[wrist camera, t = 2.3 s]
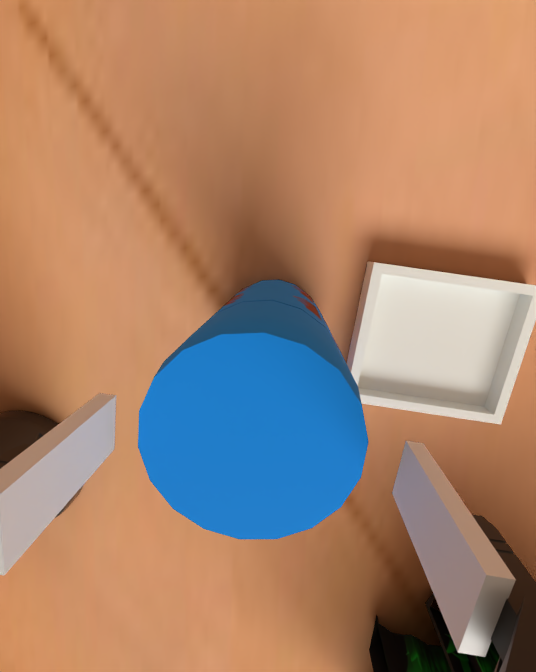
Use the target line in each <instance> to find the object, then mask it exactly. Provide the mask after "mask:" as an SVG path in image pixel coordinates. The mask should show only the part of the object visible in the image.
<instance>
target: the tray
mask: <svg viewBox="0 0 536 672" xmlns="http://www.w3.org/2000/svg"><path fill="white" fill-rule="evenodd" d="M535 321H536V285H530V284H523V283H516V282H509V281H502V280H495V279H488V278H481V277H474V276H467V275H460V274H453V273H446V272H439V271H432V270H426V269H419V268H412V267H405V266H398V265H391V264H384V263H377V262H370V261H367V266H366V271H365V276H364V281H363V286H362V291H361V295H360V300H359V305H358V310H357V315H356V320H355V325H354V330H353V334H352V339H351V344H350V349H349V354H348V359H347V366H348V368H349V370H350V372H351V374H352V376H353V378H354V380H355V382H356V384H357V386H358V388H359V393H360V399H361V403H362V404H368V405H375V406H382V407H388V408H395V409H402V410H408V411H415V412H421V413H428V414H435V415H441V416H448V417H454V418H461V419H468V420H474V421H481V422H488V423H494V424H501V422H502V419H503V416H504V413H505V410H506V407H507V404H508V401H509V398H510V395H511V392H512V389H513V386H514V383H515V380H516V378H517V375H518V372H519V369H520V366H521V363H522V360H523V357H524V354H525V351H526V348H527V345H528V342H529V339H530V336H531V333H532V330H533V327H534V324H535Z"/></svg>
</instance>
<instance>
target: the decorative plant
mask: <svg viewBox="0 0 536 672" xmlns="http://www.w3.org/2000/svg"><path fill="white" fill-rule="evenodd" d="M434 598H435V596H434V594H432V595H431V597H430V598H429V599H428V600H427V602H426V603H425V604H426V607H427V609H428V612H429V614H430V617H431V620H432V622H433V625H434V627H435V630H436V632H437V635H438V638H439V640H440V643H441V645H442V647H441V646H435V645H428V644H426V643H425V642H423V641H421V640H420V639H418V638H417V637H414V636H413V635H401V634H396V633H392V632H391V631H389V630H388V629H387V628H385V627H384V626H382V625H381V624H379V622H378V617H377V616H376V621H375V625H374V630H373V635H372V639H371V644H370V649H369V651H370V656H371V661H372V665H373V670H374V672H494V670H495V668H496V665H497V663H498V660H499V658H500V656H499V654H498V652H497V650H496V648H495V646H494V644H493V642H492V641H491V644H490V646H489V649H488V651H487V654H486V656H485V657H482V656H476V655H470V654H464V653H458V652H457V649H456V647H455V645H454V642H453V640H452V637H451V635H450V632H449V630H448V628H447V625H446V623H445V620H444V618H443V615H442V613H441V611H439V610H437V609H435V608H433V607H431V604H432V602H433V600H434Z"/></svg>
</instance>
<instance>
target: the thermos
mask: <svg viewBox="0 0 536 672" xmlns="http://www.w3.org/2000/svg"><path fill="white" fill-rule="evenodd" d="M367 446H368V437H367V431H366V425H365V420H364V415H363V409H362V404H361V399H360V393H359V388H358V386H357V384H356V382H355V380H354V378H353V376H352V374H351V372H350V370H349V368H348V366H347V364H346V362H345V360H344V358H343V356H342V354H341V352H340V350H339V348H338V346H337V344H336V342H335V340H334V338H333V336H332V334H331V332H330V330H329V328H328V326H327V324H326V322H325V320H324V318H323V316H322V314H321V312H320V311H319V309H318V308H317V306H316V304H315V303H314V301H313V300H312V298H311V297H310V296H309V295H308V294H307V293H305V292H304V291H303V290H301V289H300V288H299V287H297V286H296V285H295V284H292V283H288V282H285V281H282V280H262V281H260V282H258V283H255V284H253V285H251V286H248V287H246V288H244V289H242V290H241V291H239V292H238V293H237V294H236V295H235V296H234V297H233V298H232V299H231V300H230V301H229V302H227V303H226V304H225V305H224V306H223V307H222V308H221V309H220V310H219V311H218V312H216V313H215V314H214V315H213V316H212V317H211V318H210V319H209V320H208V321H207V322H206V323H204V324H203V325H202V326H201V327H200V328H199V329H198V330H197V331H196V332H195V333H193V334H192V335H191V336H190V337H189V338H188V339H187V340H186V341H185V342H184V343H183V344H182V345H181V346H180V347H179V348H178V349H177V350H176V351H175V352H173V353H172V354H171V355H170V356H169V357H168V358H167V359H166V360H165V361H164V362H163V364H162V366H161V367H160V369H159V370H158V372H157V374H156V375H155V377H154V379H153V381H152V383H151V386H150V388H149V390H148V392H147V395H146V397H145V399H144V401H143V404H142V406H141V408H140V410H139V435H138V448H139V450H140V453H141V456H142V459H143V462H144V465H145V467H146V470H147V473H148V476H149V479H150V481H151V482H152V483H153V485H154V486H155V487H156V488H157V490H158V491H159V492H160V493H161V494H162V496H163V497H164V498H165V499H166V501H167V502H168V503H169V504H170V506H171V507H172V508H173V509H174V510H176V511H177V512H179V513H180V514H182V515H184V516H185V517H187V518H188V519H190V520H191V521H193V522H194V523H196V524H197V525H199V526H200V527H202V528H203V529H206V530H210V531H213V532H217V533H220V534H223V535H227V536H230V537H234V538H237V539H278V538H282V537H285V536H288V535H291V534H294V533H298V532H301V531H304V530H307V529H310V528H313V527H314V526H315V525H317V524H318V523H319V522H321V521H322V520H324V519H325V518H326V517H328V516H329V515H331V514H332V513H333V512H335V511H336V510H337V509H339V508H340V507H341V506H342V505H343V503H344V502H345V500H346V499H347V497H348V496H349V494H350V493H351V491H352V490H353V488H354V487H355V485H356V484H357V482H358V481H359V479H360V478H361V475H362V470H363V465H364V460H365V456H366V451H367Z"/></svg>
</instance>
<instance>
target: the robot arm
mask: <svg viewBox="0 0 536 672" xmlns="http://www.w3.org/2000/svg"><path fill="white" fill-rule="evenodd" d="M115 417H116V395H110V394H104V393H99V394H97V395H96V396H95V397H94V398H92V399H91V400H90V401H88V402H87V403H86V404H84V405H83V406H82V407H80V408H79V409H78V410H77V411H75V412H74V413H73V414H71V415H70V416H69V417H67V418H66V419H65V420H63V421H62V422H61V423H60V424H57V423H55V422H54V421H52V420H50V419H48V418H46V417H44V416H42V415H39V414H36V413H32V412H27V411H7V412H3V413H0V575H5V574H6V573H7V572H8V571H9V570H10V568H11V567H12V566H13V565H14V564H15V563H16V562H17V560H18V559H19V558H20V557H21V556H22V555H23V553H24V552H25V551H26V550H27V549H28V548H29V547H30V545H31V544H32V543H33V542H34V541H35V540H36V539H37V537H38V536H39V535H40V534H41V533H42V532H43V531H44V529H45V528H46V527H47V526H48V525H49V524H50V522H51V521H52V520H53V519H54V518H56V517H57V516H59V515H60V514H61V513H63V512H64V511H65V510H66V509H67V508H68V507H69V505H70V504H71V503H72V502H73V501H74V499H75V498H76V497H77V496H78V494H79V493H80V491H81V489H82V487H83V485H84V483H85V482H86V481H87V480H88V479H89V478H90V476H91V475H92V474H93V473H94V472H95V471H96V470H97V468H98V467H99V466H100V465H101V464H102V463H103V462H104V460H105V459H106V458H107V457H108V456H109V455H110V454H111V452H112V451H113V450H114V447H115ZM392 494H393V497H394V499H395V502H396V504H397V507H398V509H399V511H400V514H401V516H402V519H403V521H404V523H405V526H406V528H407V531H408V533H409V536H410V538H411V540H412V543H413V545H414V548H415V550H416V553H417V555H418V557H419V560H420V562H421V565H422V567H423V569H424V572H425V574H426V577H427V579H428V582H429V584H430V586H431V589H432V591H433V594H434V596H435V599H436V601H437V603H438V606H439V608H440V611H441V613H442V615H443V618H444V620H445V623H446V625H447V628H448V630H449V632H450V635H451V637H452V640H453V642H454V645H455V647H456V649H457V652H458V653H464V654H470V655H476V656H482V657H485V656H486V654H487V651H488V649H489V646H490V644H491V641H492V642H493V644H494V646H495V648H496V650H497V652H498V654H499V656H500V658H499V660H498V663H497V665H496V668H495V670H494V672H536V582H535V581H534V579H533V578H532V577H531V575H530V574H529V573H528V571H527V570H526V568H525V567H524V566H523V564H522V563H521V562H520V560H519V559H518V557H517V556H516V555H514V554H513V551H512V549H511V548H510V547H509V545H508V544H506V541H505V540H504V538H503V537H502V536H501V534H500V533H499V532H498V530H497V529H496V528H495V527H494V526H493V525H492V524H491V523H489V522H488V521H487V520H486V519H485V518H484V517H482V516H478V515H472V514H471V513H470V511H469V510H468V508H467V507H466V505H465V504H464V503H463V501H462V500H461V498H460V497H459V495H458V494H457V492H456V491H455V489H454V488H453V486H452V485H451V483H450V482H449V480H448V479H447V477H446V476H445V474H444V473H443V472H442V470H441V469H440V467H439V466H438V464H437V463H436V461H435V460H434V458H433V457H432V455H431V454H430V452H429V451H428V449H427V448H426V446H425V445H424V443H419V442H412V441H406V443H405V446H404V450H403V454H402V458H401V461H400V465H399V469H398V473H397V476H396V480H395V484H394V488H393V492H392Z"/></svg>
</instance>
